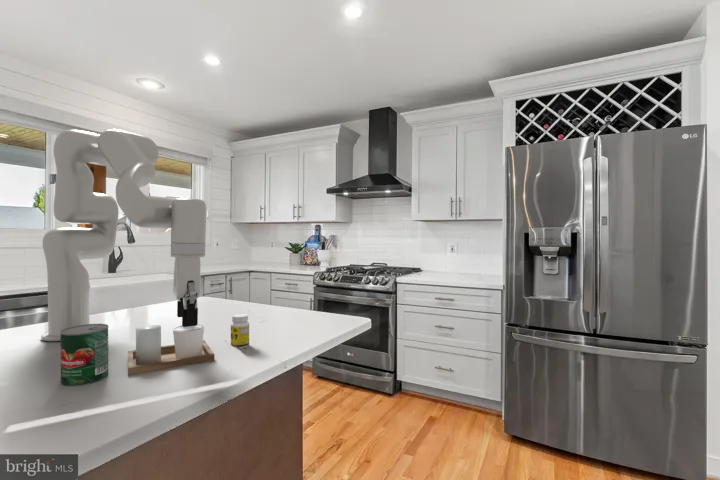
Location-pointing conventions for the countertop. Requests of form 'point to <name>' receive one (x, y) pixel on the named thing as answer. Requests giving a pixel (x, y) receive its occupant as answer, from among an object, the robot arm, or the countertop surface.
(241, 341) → the supplement bottle
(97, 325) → the canned tomato
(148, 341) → the white pillar candle
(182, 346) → the white tapered cup
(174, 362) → the walnut tray
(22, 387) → the countertop surface
